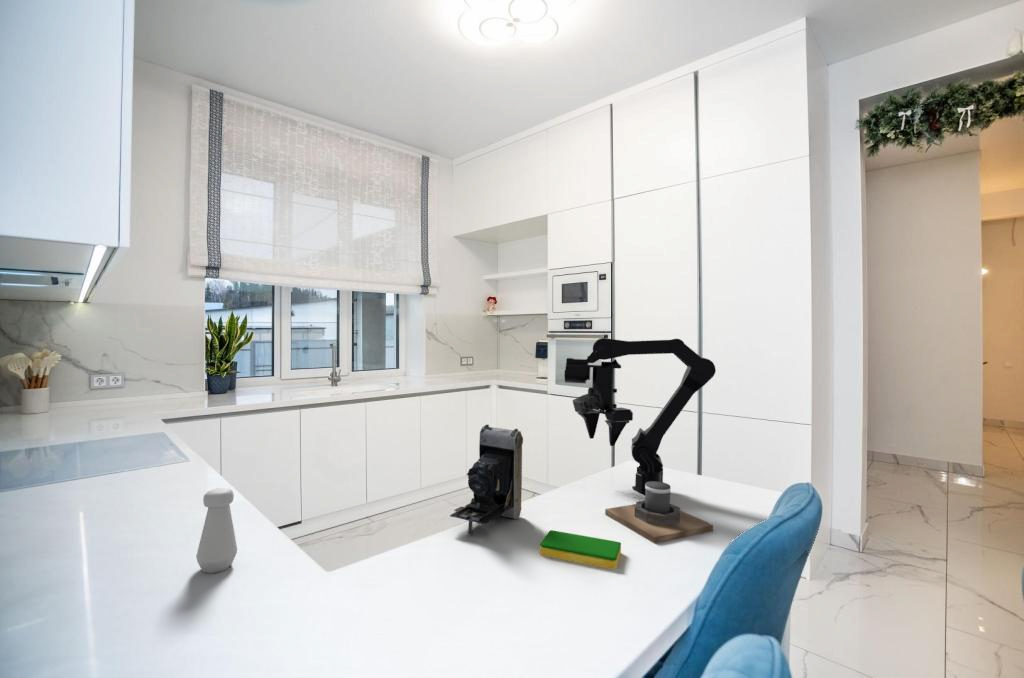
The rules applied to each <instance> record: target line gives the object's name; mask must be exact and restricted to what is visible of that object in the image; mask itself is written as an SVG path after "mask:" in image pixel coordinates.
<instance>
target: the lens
mask: <svg viewBox="0 0 1024 678" xmlns="http://www.w3.org/2000/svg"><path fill="white" fill-rule="evenodd" d="M671 491H672V490H671V485H670V484H669V483H666V482H664V481H663V482H657V481H650V482H646V484H645V494H644V495H645V496H644V498H645V499H644V501H645V510H647V511H649V512H653V513H660V514H667V513H670V504H671Z"/></svg>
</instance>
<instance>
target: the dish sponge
mask: <svg viewBox="0 0 1024 678" xmlns="http://www.w3.org/2000/svg"><path fill="white" fill-rule="evenodd" d="M621 545H622V542H621V541H615V540H611V539H605V538H600V537H599V538H598V537H592V536H586V535H582V534H581V535H580V534H576V533H569V532H564V531H557V530H553V529H551V530H549V531H548V532H547V534H546V535H545V536H544V538H543V539H542V540H541V542H540V544H539V555H541V556H543V557H547V558H548V557H549V558H555V559H559V560H564V561H569V562H575V563H580V564H586V565H589V566H593V567H594V566H595V567H600V568H604V569H609V570H616V569H617V566H618V564H619V560H620V556H621V553H622V546H621Z"/></svg>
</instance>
